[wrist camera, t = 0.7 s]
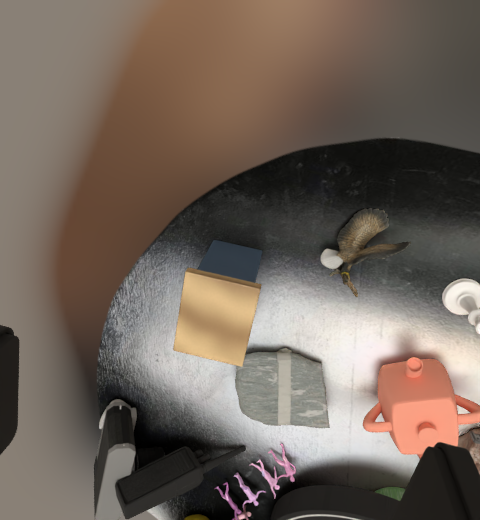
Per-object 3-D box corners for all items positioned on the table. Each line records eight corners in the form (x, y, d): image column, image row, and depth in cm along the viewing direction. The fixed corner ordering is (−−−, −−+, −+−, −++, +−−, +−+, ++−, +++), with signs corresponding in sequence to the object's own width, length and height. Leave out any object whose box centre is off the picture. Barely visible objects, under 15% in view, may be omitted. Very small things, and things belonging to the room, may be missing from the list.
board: (187, 267, 48) (185, 271, 46) (261, 284, 47) (260, 289, 46) (175, 344, 52) (172, 350, 50) (243, 360, 51) (242, 367, 50)
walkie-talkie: (110, 477, 66) (227, 425, 76) (122, 521, 65) (240, 461, 75) (116, 479, 61) (241, 422, 71) (130, 527, 60) (255, 462, 69)
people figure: (275, 452, 67) (306, 496, 66) (285, 434, 72) (314, 474, 72) (193, 501, 73) (220, 542, 72) (207, 480, 79) (233, 518, 78)
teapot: (342, 380, 64) (349, 432, 55) (403, 326, 60) (421, 372, 51) (416, 434, 66) (434, 492, 57) (480, 385, 62) (511, 440, 52)
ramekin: (353, 494, 72) (356, 519, 68) (404, 475, 69) (410, 499, 65) (381, 529, 74) (385, 556, 70) (432, 512, 72) (439, 538, 67)
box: (213, 239, 59) (193, 276, 48) (262, 250, 59) (253, 290, 48) (204, 292, 62) (182, 338, 51) (250, 303, 62) (239, 352, 51)
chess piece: (454, 319, 59) (481, 364, 50) (434, 291, 58) (459, 332, 48) (490, 300, 57) (526, 343, 48) (471, 271, 56) (503, 309, 47)
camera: (177, 443, 65) (167, 393, 73) (106, 446, 61) (104, 393, 69) (155, 520, 72) (148, 467, 80) (89, 528, 68) (89, 471, 77)
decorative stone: (240, 400, 68) (234, 428, 63) (237, 342, 64) (232, 367, 59) (327, 404, 66) (329, 434, 61) (330, 346, 63) (333, 371, 57)
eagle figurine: (370, 291, 58) (421, 244, 53) (344, 302, 52) (399, 250, 47) (332, 248, 60) (377, 199, 55) (303, 254, 55) (351, 200, 50)
